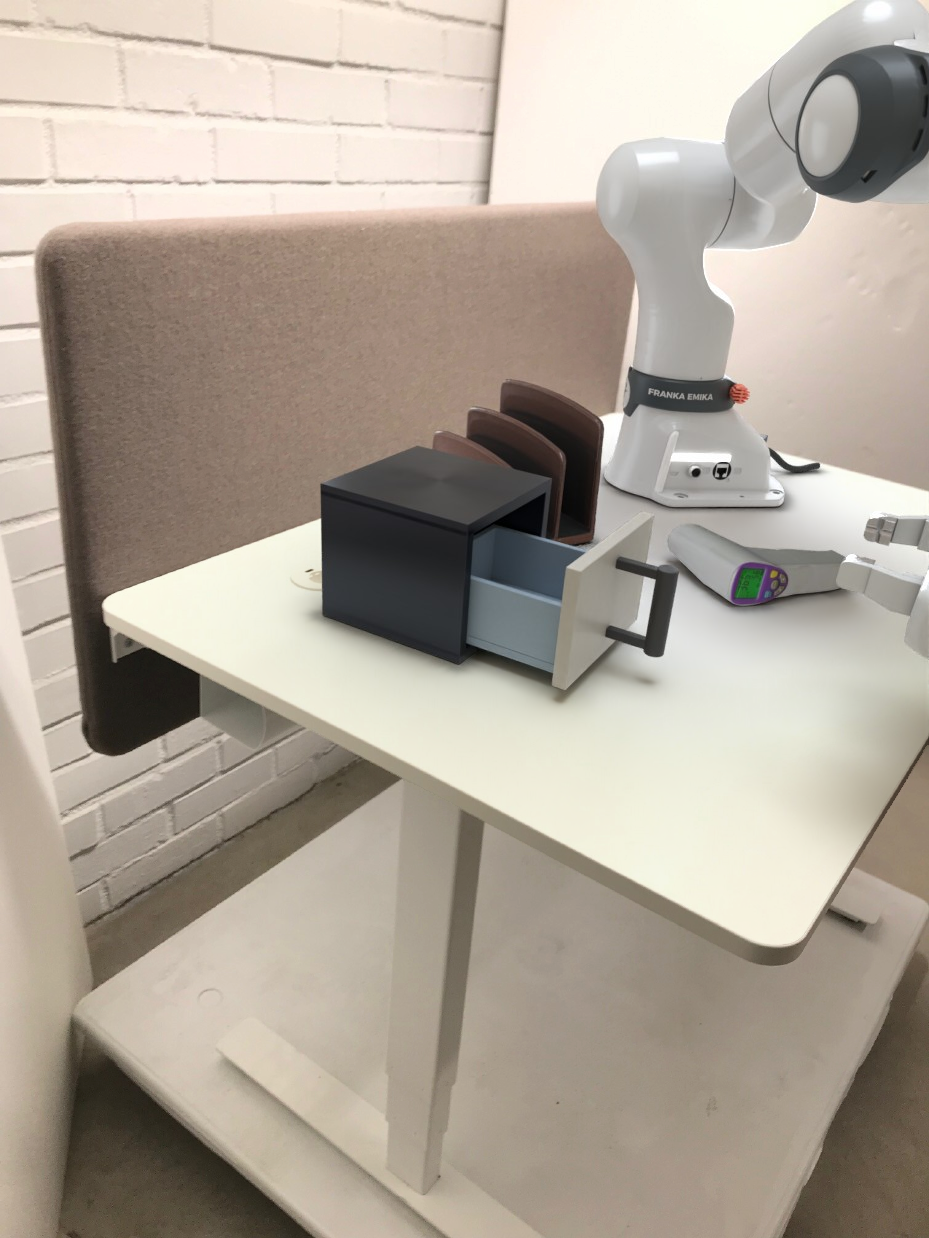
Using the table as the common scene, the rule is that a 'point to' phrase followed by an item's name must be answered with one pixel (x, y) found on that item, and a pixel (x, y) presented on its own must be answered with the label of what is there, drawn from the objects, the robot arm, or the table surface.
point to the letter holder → (540, 451)
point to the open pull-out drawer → (565, 597)
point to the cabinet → (418, 542)
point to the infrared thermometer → (752, 566)
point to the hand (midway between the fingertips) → (854, 545)
